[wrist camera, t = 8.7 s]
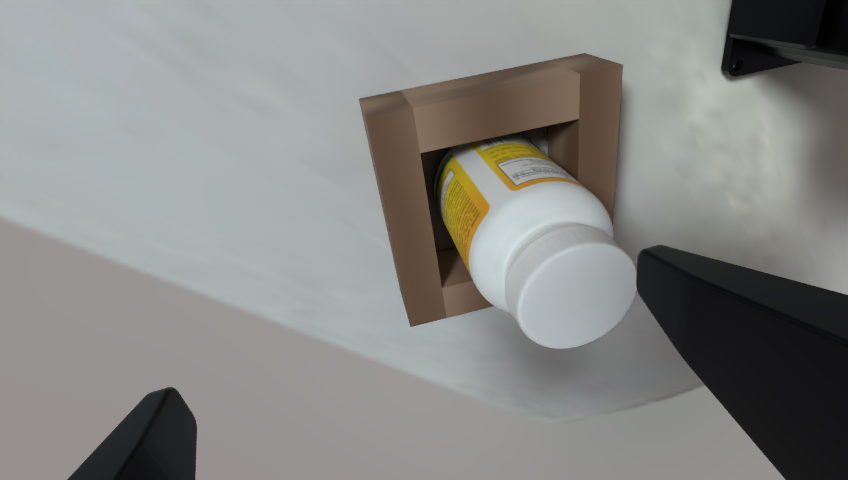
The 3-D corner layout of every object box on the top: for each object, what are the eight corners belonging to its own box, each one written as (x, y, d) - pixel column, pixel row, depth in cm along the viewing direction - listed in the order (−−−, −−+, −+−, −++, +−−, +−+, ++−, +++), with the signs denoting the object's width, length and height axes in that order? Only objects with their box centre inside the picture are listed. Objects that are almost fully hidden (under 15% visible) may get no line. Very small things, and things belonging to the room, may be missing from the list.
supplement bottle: (502, 102, 21) (622, 184, 13) (556, 186, 24) (684, 299, 16) (407, 177, 22) (463, 299, 14) (470, 251, 25) (548, 389, 16)
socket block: (584, 53, 21) (623, 64, 18) (580, 246, 26) (609, 276, 23) (359, 98, 20) (365, 117, 17) (400, 290, 25) (410, 327, 22)
